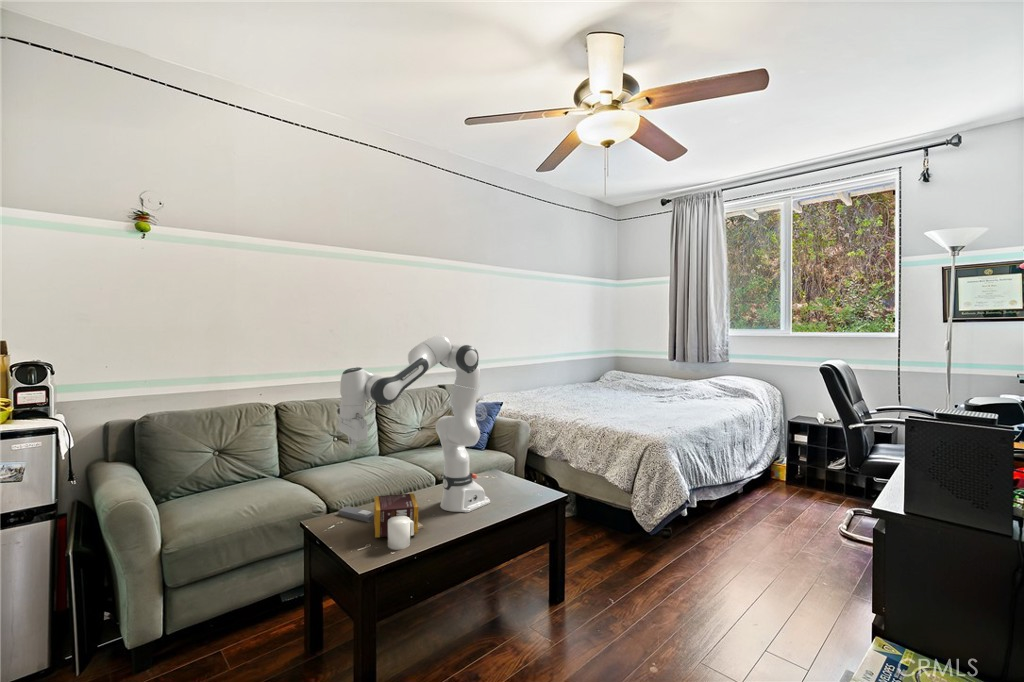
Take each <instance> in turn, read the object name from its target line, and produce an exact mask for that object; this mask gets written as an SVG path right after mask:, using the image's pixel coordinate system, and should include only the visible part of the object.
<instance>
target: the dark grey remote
mask: <svg viewBox="0 0 1024 682" xmlns="http://www.w3.org/2000/svg"><path fill="white" fill-rule="evenodd" d="M338 516H342V517H346V518H349V519H354V520H358V521H362V522H365V523H370V522H371V521H374V511H370V510H367V509H362V508H358V507H354V506H351V505H350V506H349V505H346V506H344V507H342V508H340V509H338Z"/></svg>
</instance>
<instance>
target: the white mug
mask: <svg viewBox="0 0 1024 682" xmlns="http://www.w3.org/2000/svg"><path fill="white" fill-rule="evenodd" d="M414 535H415V533H414V522H413V521H412V520H410V518H409V517H407V516H395V517H392V518H390V519H389V520H388V536H387V547H388V549H390V550H393V551H394V550H395V551H400V550H404V549H406V548H408V547H409V546H410V545H411V537H412V536H414Z"/></svg>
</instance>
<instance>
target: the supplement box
mask: <svg viewBox="0 0 1024 682" xmlns="http://www.w3.org/2000/svg"><path fill="white" fill-rule="evenodd" d="M373 506H374V507H373V508H374V509H373V510H374V511H373V512H374V520H373V524H374V537H375V538H383V537H388V520H389V519H390V518H392V517H395V516H407V517H409V518H410V520H412V521H413V522H414V534H418V532H419V529H418V522H419V505H418V503H417V499H416V496H415V493H402V494H389V495H378V496H377V495H375V496H374V505H373Z"/></svg>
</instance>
